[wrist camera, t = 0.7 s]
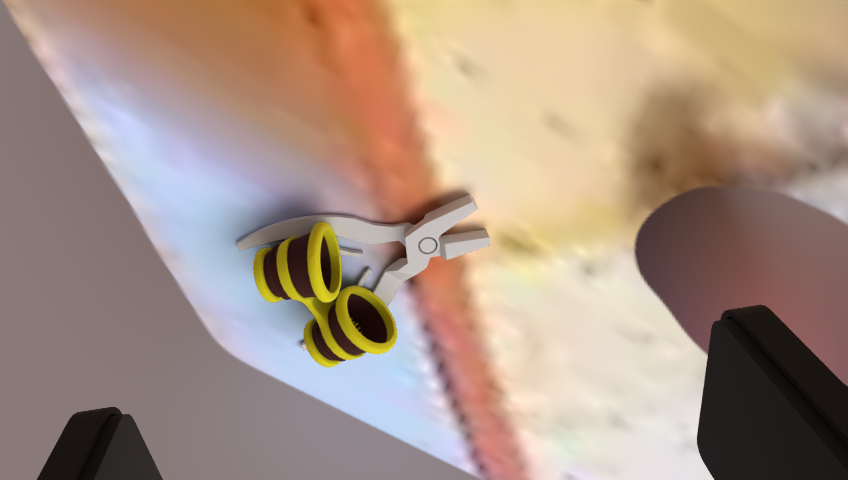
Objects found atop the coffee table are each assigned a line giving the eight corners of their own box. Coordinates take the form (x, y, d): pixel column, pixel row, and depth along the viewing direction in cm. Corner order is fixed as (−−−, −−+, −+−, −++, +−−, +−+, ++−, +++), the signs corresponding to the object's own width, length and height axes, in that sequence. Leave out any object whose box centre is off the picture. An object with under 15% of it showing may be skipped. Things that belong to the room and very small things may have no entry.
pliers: (231, 248, 39) (457, 156, 37) (235, 236, 40) (453, 146, 39) (304, 361, 44) (507, 283, 42) (305, 347, 45) (502, 270, 43)
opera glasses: (260, 234, 41) (234, 281, 37) (328, 204, 39) (309, 250, 35) (338, 336, 45) (324, 388, 41) (402, 314, 44) (394, 366, 39)
